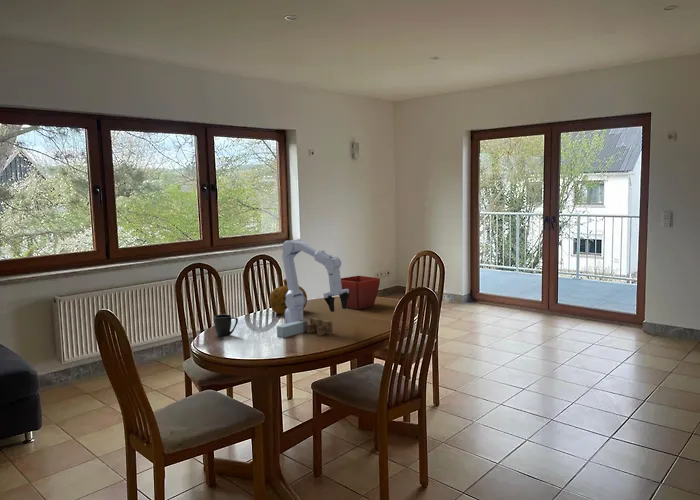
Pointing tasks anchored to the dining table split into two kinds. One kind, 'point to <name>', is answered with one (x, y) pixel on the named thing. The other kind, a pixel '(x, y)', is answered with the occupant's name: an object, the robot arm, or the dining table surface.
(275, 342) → the dining table surface
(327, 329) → the plank with two pegs
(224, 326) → the mug
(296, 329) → the rail
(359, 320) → the dining table surface
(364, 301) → the plant pot
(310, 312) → the dining table surface
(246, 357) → the dining table surface
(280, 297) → the decorative pumpkin
